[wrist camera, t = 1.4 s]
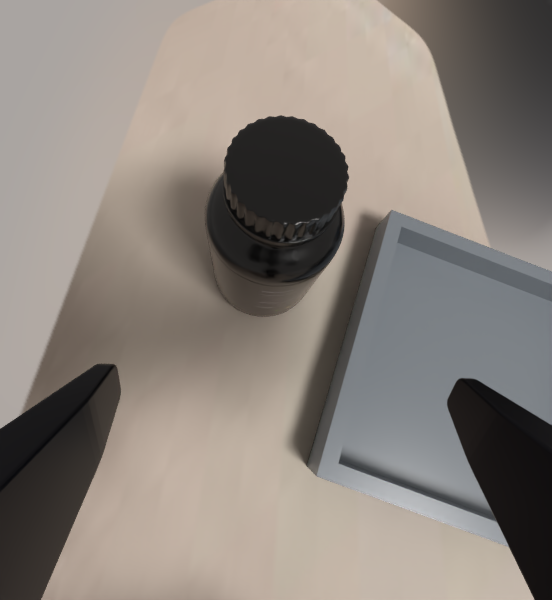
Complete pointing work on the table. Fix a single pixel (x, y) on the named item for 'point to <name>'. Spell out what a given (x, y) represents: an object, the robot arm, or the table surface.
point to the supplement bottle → (275, 213)
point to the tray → (431, 368)
